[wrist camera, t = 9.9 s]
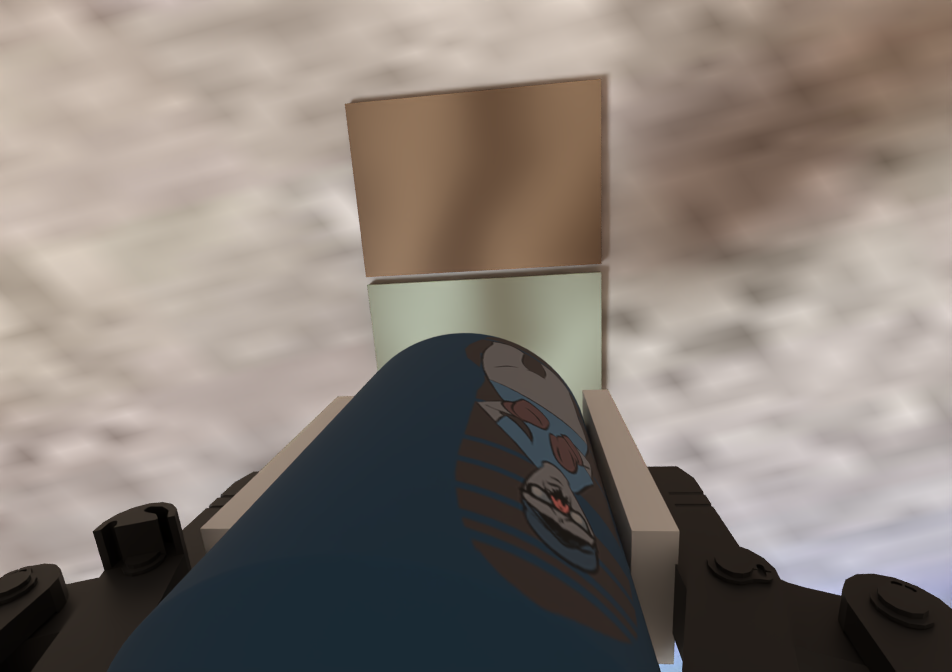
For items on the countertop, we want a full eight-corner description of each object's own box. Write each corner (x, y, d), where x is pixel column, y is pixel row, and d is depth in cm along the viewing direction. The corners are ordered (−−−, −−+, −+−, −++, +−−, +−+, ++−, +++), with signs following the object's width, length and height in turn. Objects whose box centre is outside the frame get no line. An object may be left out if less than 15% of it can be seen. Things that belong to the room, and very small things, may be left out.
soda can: (371, 510, 16) (-5, 1237, 5) (366, 316, 14) (-251, 702, 3) (571, 527, 16) (716, 1413, 4) (590, 328, 14) (935, 870, 2)
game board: (417, 680, 28) (416, 685, 28) (347, 105, 21) (344, 103, 20) (600, 687, 27) (601, 692, 27) (600, 81, 19) (601, 78, 19)
